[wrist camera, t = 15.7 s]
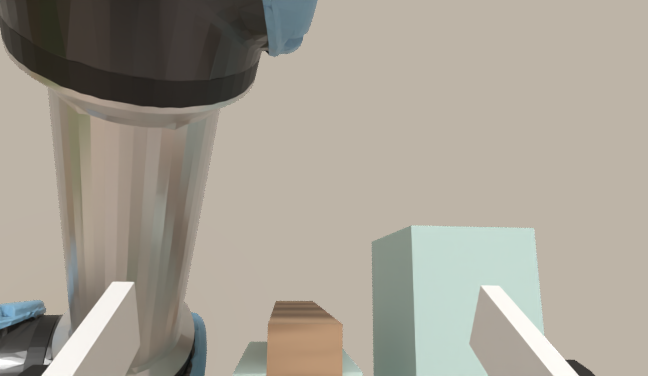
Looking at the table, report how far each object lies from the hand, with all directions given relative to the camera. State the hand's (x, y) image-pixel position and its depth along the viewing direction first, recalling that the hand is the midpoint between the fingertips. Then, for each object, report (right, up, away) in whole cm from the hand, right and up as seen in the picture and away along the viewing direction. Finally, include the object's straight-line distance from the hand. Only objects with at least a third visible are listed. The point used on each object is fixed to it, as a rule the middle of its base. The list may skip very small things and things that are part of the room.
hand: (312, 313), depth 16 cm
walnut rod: (-2, -9, +17) cm, 20 cm away
